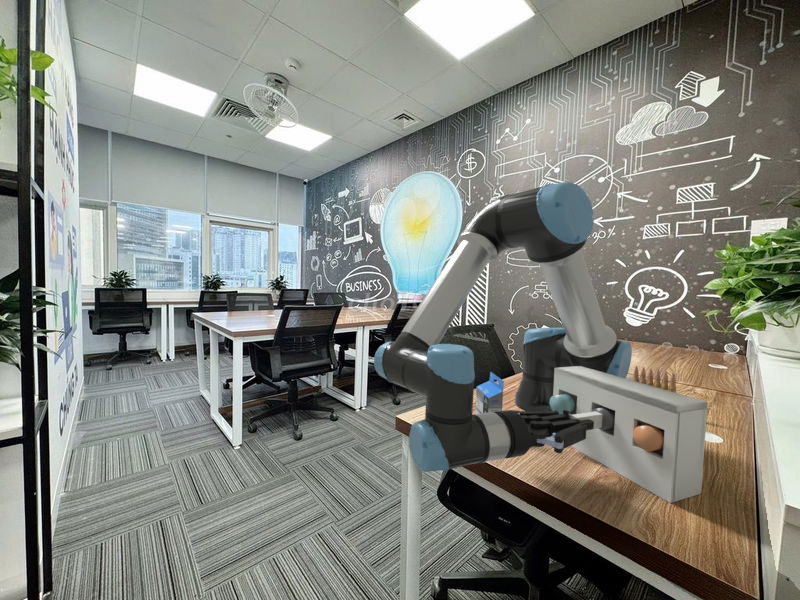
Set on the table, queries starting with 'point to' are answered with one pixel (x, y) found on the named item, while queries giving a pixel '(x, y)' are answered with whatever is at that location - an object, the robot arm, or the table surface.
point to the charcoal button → (606, 417)
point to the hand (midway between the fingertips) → (598, 419)
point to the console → (637, 406)
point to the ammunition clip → (657, 379)
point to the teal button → (562, 403)
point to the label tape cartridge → (489, 395)
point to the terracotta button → (649, 437)
